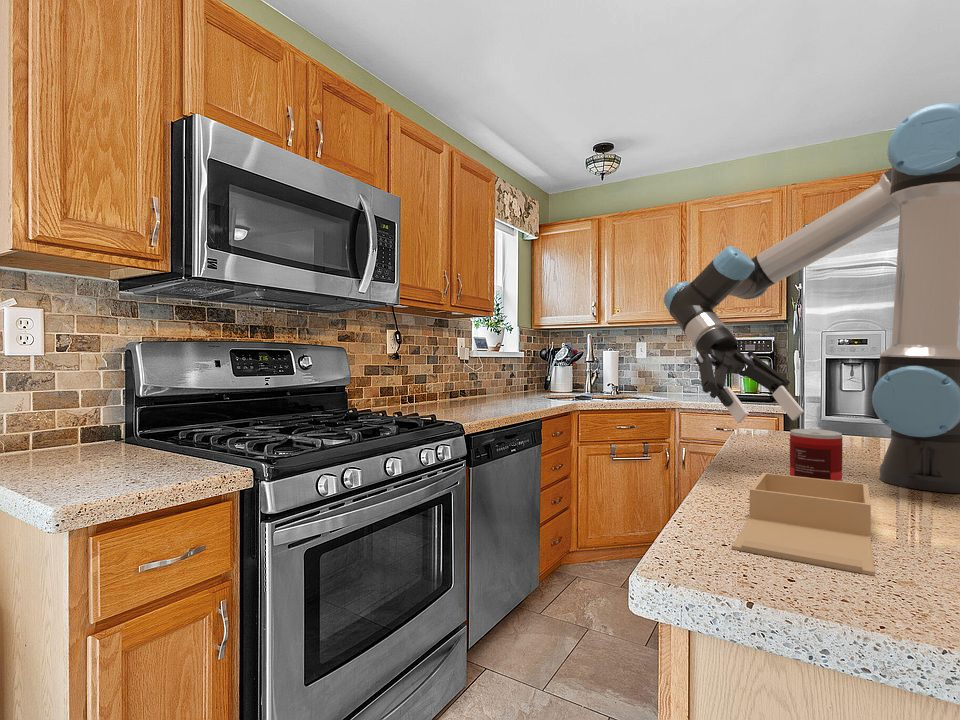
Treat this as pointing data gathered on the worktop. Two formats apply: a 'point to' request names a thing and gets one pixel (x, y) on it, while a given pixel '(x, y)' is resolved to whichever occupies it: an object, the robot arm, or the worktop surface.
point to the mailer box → (810, 522)
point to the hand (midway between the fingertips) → (771, 417)
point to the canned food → (816, 454)
